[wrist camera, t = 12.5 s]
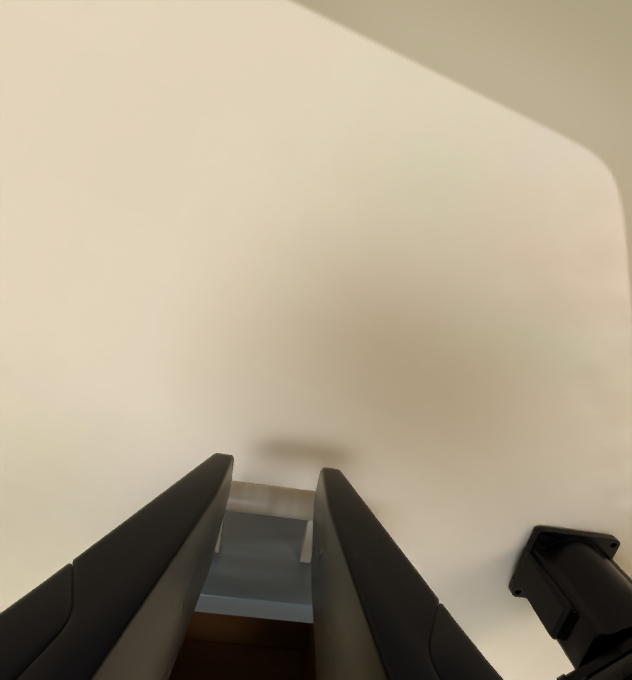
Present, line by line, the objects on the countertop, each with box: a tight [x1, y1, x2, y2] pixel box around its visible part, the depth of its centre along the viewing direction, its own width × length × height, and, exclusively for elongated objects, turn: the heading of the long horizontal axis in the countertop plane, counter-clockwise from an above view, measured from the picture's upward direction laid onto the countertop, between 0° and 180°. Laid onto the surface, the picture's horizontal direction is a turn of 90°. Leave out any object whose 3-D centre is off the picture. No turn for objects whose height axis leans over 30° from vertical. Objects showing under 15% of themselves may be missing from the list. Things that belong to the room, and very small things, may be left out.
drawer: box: [168, 481, 317, 680], centre depth 20 cm, size 18×12×7 cm, turn 170°
